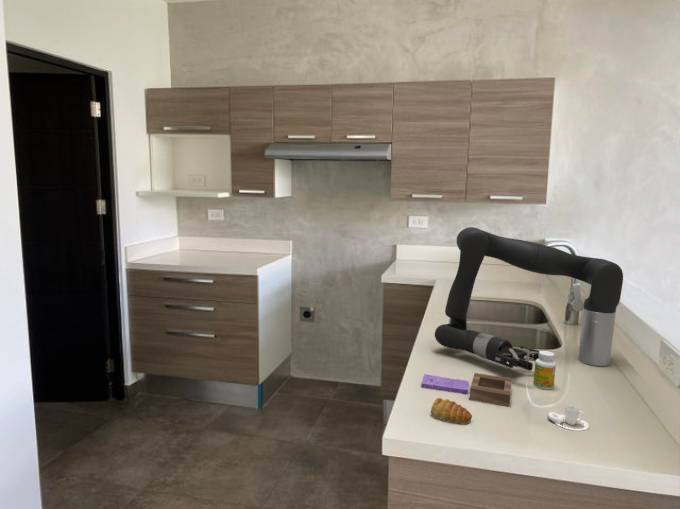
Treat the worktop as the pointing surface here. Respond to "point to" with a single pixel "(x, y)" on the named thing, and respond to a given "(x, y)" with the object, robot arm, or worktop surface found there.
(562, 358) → the worktop surface
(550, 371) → the supplement bottle
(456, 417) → the pastry
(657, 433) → the worktop surface
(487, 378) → the bottle holder
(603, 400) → the worktop surface
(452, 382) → the sponges
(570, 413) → the teacup and saucer
